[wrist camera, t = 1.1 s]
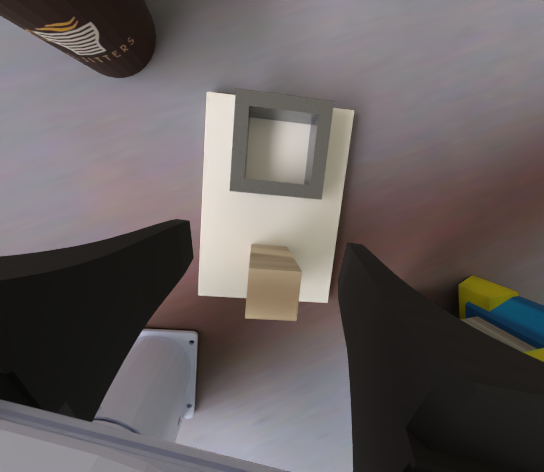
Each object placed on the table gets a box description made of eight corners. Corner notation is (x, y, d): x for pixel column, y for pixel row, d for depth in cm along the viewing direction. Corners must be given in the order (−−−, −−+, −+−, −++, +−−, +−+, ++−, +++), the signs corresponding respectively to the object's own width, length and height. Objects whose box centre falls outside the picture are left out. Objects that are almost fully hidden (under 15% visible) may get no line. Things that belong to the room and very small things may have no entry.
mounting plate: (324, 298, 23) (327, 302, 22) (200, 291, 22) (198, 295, 21) (349, 114, 20) (354, 110, 19) (209, 96, 19) (206, 91, 18)
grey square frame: (313, 199, 20) (321, 199, 18) (232, 191, 20) (229, 190, 17) (324, 113, 19) (334, 101, 17) (238, 102, 19) (235, 88, 16)
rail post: (283, 280, 22) (296, 320, 15) (248, 278, 21) (244, 318, 14) (286, 246, 21) (302, 271, 14) (251, 243, 21) (248, 268, 14)
